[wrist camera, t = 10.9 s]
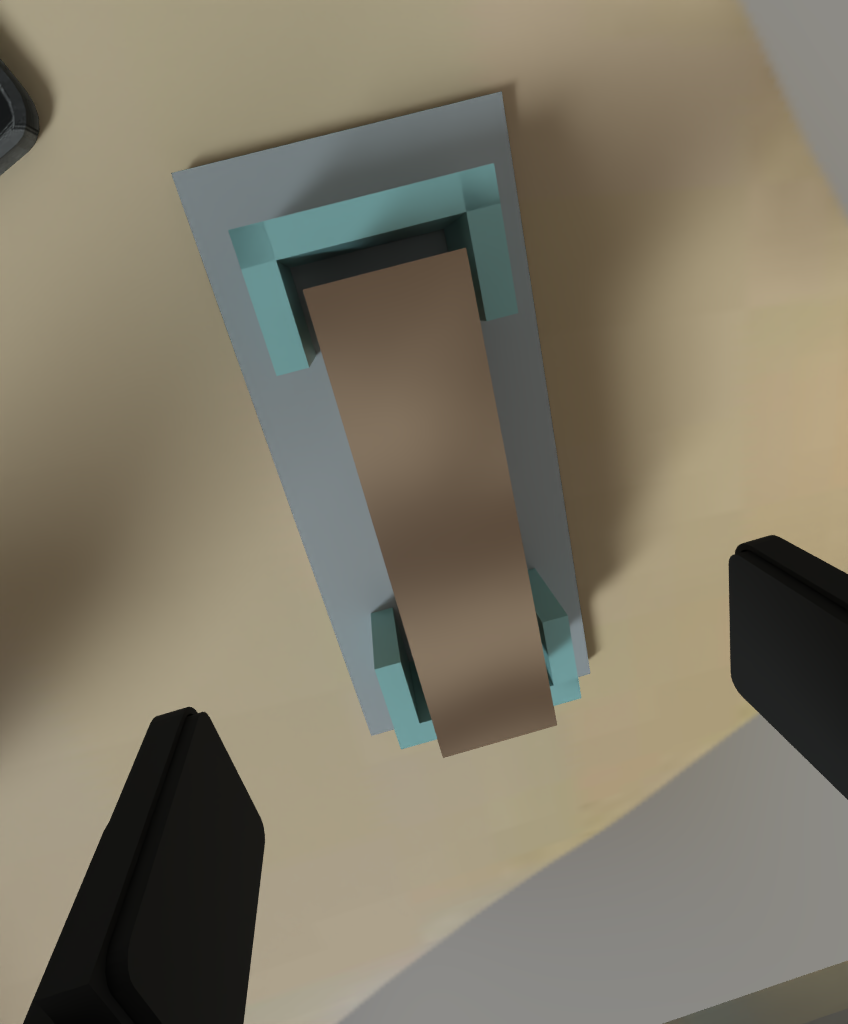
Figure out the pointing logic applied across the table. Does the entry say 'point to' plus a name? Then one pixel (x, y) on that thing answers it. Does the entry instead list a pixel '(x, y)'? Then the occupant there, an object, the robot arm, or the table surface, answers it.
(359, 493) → the rail
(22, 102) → the phone
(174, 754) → the robot arm
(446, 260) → the brown wooden block
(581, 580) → the table surface
